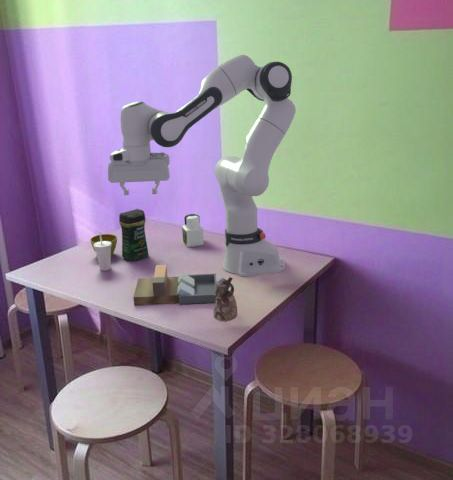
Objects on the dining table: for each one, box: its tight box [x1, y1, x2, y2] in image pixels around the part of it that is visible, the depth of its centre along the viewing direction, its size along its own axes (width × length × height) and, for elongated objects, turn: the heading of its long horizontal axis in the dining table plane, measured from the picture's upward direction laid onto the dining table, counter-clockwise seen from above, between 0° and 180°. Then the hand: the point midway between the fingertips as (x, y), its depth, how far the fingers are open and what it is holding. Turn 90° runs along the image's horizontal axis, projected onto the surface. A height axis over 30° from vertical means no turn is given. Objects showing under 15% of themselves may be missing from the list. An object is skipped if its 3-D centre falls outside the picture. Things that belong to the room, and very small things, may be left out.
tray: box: [178, 273, 217, 306], centre depth 169 cm, size 12×16×3 cm
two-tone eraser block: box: [152, 264, 168, 296], centre depth 168 cm, size 4×14×5 cm, turn 3°
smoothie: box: [94, 231, 112, 272], centre depth 189 cm, size 6×6×14 cm
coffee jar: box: [118, 208, 149, 262], centre depth 198 cm, size 10×8×19 cm
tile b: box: [177, 282, 194, 296], centre depth 165 cm, size 5×5×2 cm
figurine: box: [213, 276, 238, 322], centre depth 153 cm, size 7×7×12 cm
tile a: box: [178, 272, 195, 288], centre depth 172 cm, size 5×5×2 cm
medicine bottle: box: [181, 213, 205, 248], centre depth 211 cm, size 7×7×12 cm
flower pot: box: [90, 233, 118, 257], centre depth 202 cm, size 10×10×7 cm
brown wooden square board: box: [132, 276, 180, 307], centre depth 169 cm, size 14×14×3 cm
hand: (140, 194), depth 176 cm, fingers open, 8 cm apart
